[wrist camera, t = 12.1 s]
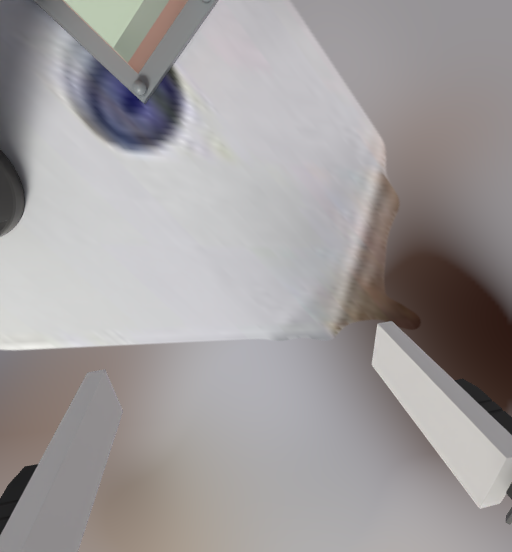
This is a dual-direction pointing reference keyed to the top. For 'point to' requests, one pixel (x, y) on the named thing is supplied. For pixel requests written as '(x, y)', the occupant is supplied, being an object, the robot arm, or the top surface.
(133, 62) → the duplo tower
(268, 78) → the top surface
